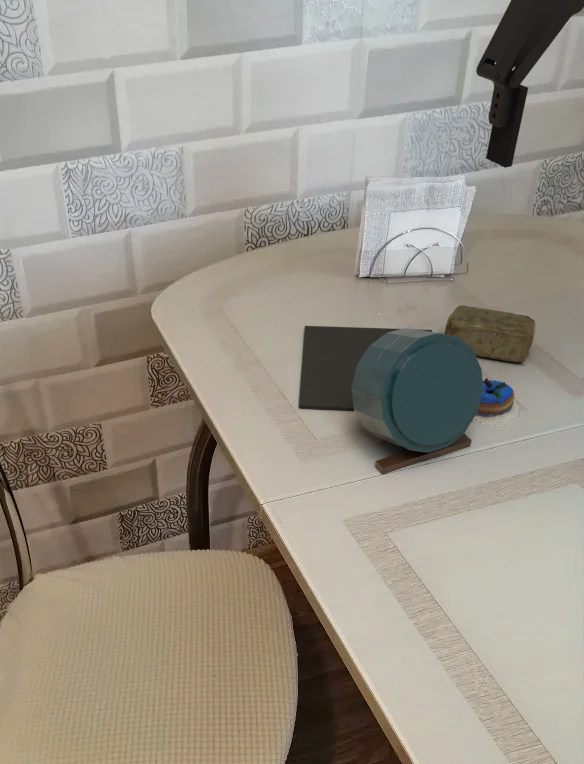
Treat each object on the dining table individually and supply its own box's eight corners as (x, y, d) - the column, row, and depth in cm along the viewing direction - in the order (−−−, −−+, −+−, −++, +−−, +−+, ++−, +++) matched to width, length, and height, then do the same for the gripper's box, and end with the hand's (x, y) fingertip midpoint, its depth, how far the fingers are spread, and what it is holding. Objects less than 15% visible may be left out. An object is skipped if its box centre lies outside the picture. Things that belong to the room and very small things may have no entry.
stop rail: (461, 443, 94) (464, 433, 93) (469, 450, 93) (472, 440, 92) (374, 470, 91) (375, 460, 90) (381, 478, 90) (382, 468, 89)
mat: (431, 332, 113) (431, 329, 113) (444, 415, 99) (445, 411, 98) (304, 328, 115) (304, 325, 115) (298, 408, 101) (298, 405, 100)
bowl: (502, 406, 90) (463, 396, 97) (458, 310, 85) (420, 306, 91) (416, 476, 89) (382, 461, 95) (365, 382, 83) (333, 373, 90)
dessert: (496, 382, 102) (517, 364, 96) (515, 429, 101) (537, 414, 95) (439, 398, 101) (457, 381, 95) (458, 446, 100) (477, 432, 94)
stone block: (526, 367, 106) (534, 334, 102) (439, 353, 109) (444, 320, 106) (531, 346, 110) (539, 313, 106) (446, 332, 113) (452, 301, 110)
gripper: (529, -128, 54) (472, 187, 68) (795, -151, 61) (692, 140, 75) (462, -133, 59) (421, 160, 73) (713, -154, 66) (632, 118, 80)
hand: (558, 150), depth 74 cm, fingers open, 13 cm apart
